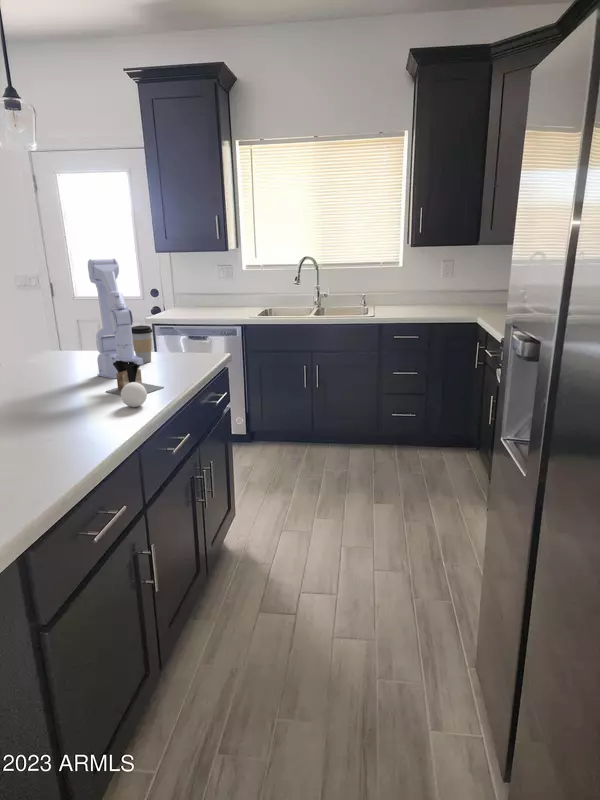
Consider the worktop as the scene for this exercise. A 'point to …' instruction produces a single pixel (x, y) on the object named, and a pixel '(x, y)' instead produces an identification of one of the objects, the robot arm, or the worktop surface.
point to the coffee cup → (142, 342)
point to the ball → (133, 394)
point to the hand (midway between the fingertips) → (128, 381)
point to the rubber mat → (148, 387)
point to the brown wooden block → (123, 379)
